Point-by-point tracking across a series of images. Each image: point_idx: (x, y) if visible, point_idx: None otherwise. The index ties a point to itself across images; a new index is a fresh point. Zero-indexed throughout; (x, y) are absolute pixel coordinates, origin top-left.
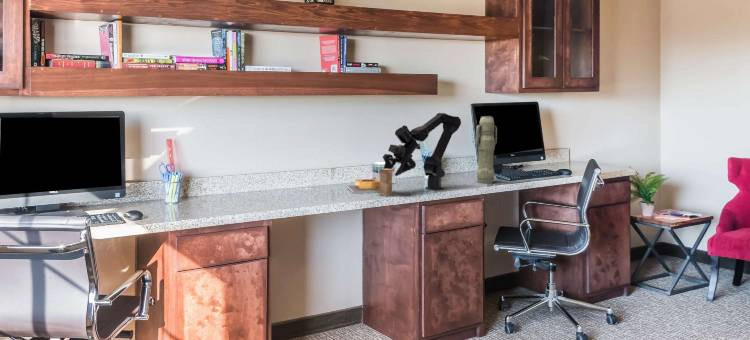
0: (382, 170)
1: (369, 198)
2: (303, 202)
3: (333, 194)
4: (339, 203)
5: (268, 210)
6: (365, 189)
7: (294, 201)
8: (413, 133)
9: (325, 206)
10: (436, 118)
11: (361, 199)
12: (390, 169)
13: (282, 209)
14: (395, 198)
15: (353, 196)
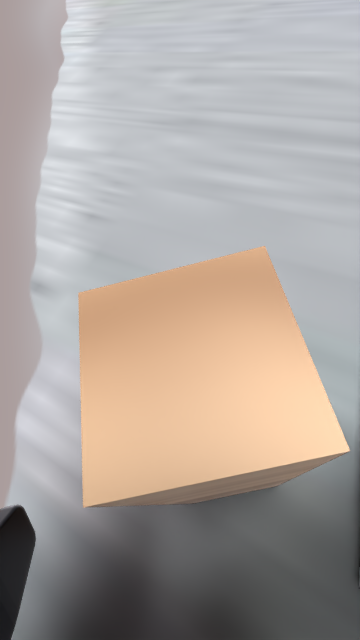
0: (189, 279)
1: (123, 268)
2: (171, 50)
3: (356, 143)
4: (78, 131)
5: (96, 3)
6: None
7: (207, 33)
8: None
9: (55, 93)
10: None
11: (117, 222)
12: (85, 434)
13: (88, 20)
14: (19, 426)
15: (238, 212)
